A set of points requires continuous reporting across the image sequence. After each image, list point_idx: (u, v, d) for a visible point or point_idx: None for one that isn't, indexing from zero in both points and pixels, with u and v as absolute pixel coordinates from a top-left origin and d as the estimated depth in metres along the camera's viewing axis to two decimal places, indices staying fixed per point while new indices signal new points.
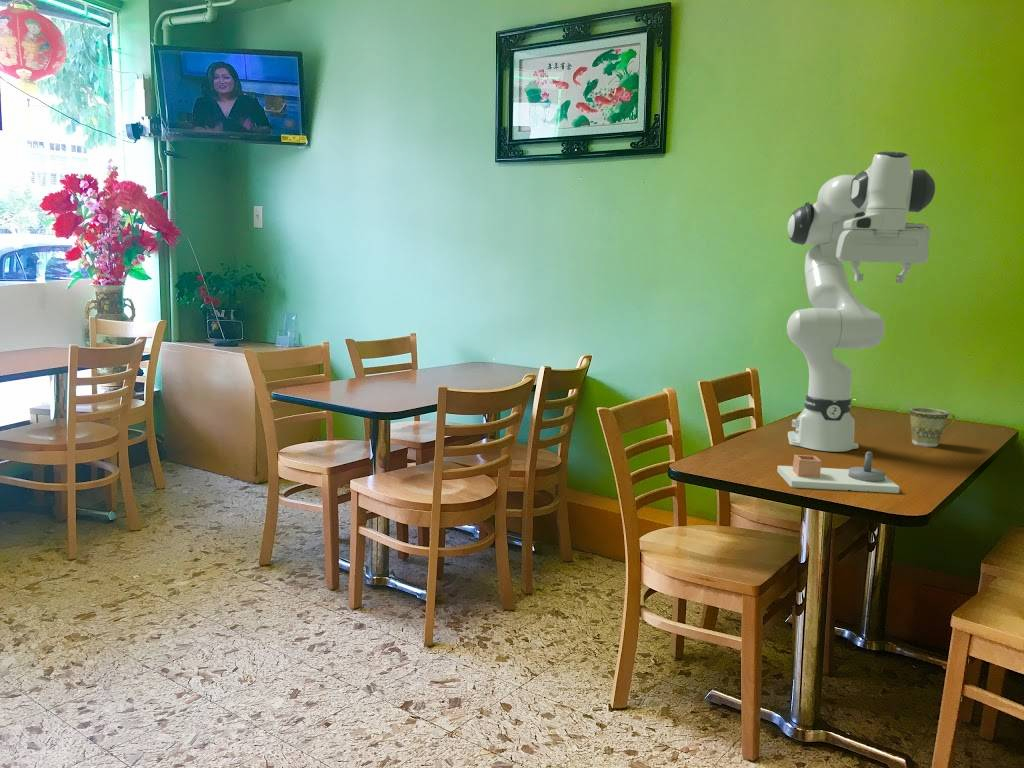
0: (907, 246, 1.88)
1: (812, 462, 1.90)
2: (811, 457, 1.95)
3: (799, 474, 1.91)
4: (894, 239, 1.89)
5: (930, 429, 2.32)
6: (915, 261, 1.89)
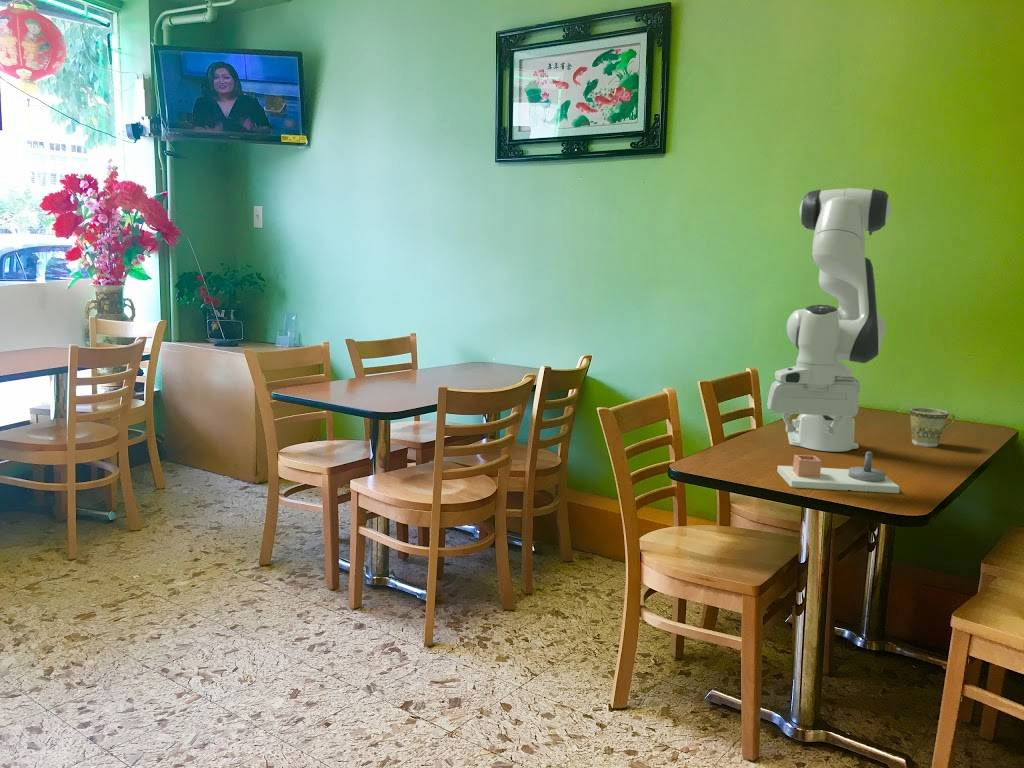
0: (837, 400, 1.88)
1: (812, 462, 1.90)
2: (811, 457, 1.95)
3: (799, 474, 1.91)
4: (823, 393, 1.89)
5: (930, 429, 2.32)
6: (845, 414, 1.89)
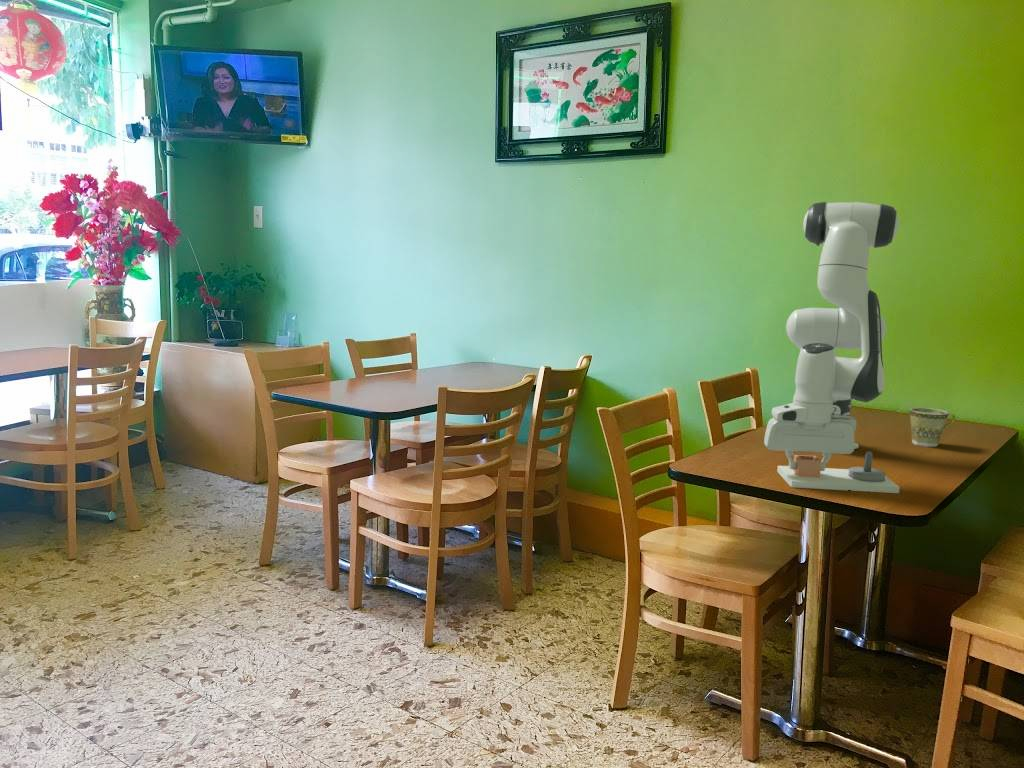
0: (833, 438, 1.90)
1: (812, 462, 1.90)
2: (811, 457, 1.95)
3: (799, 474, 1.91)
4: (820, 430, 1.90)
5: (930, 429, 2.32)
6: (841, 452, 1.90)
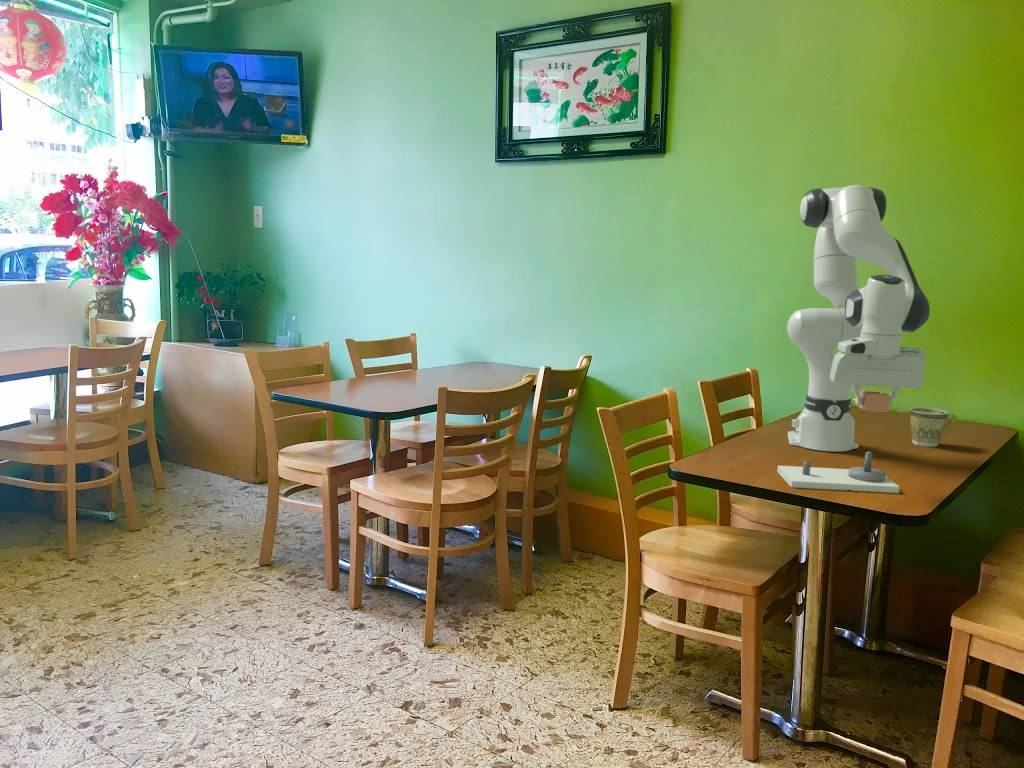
0: (902, 371, 1.86)
1: (880, 396, 1.87)
2: (878, 393, 1.91)
3: (867, 409, 1.87)
4: (888, 364, 1.86)
5: (930, 429, 2.32)
6: (910, 386, 1.87)
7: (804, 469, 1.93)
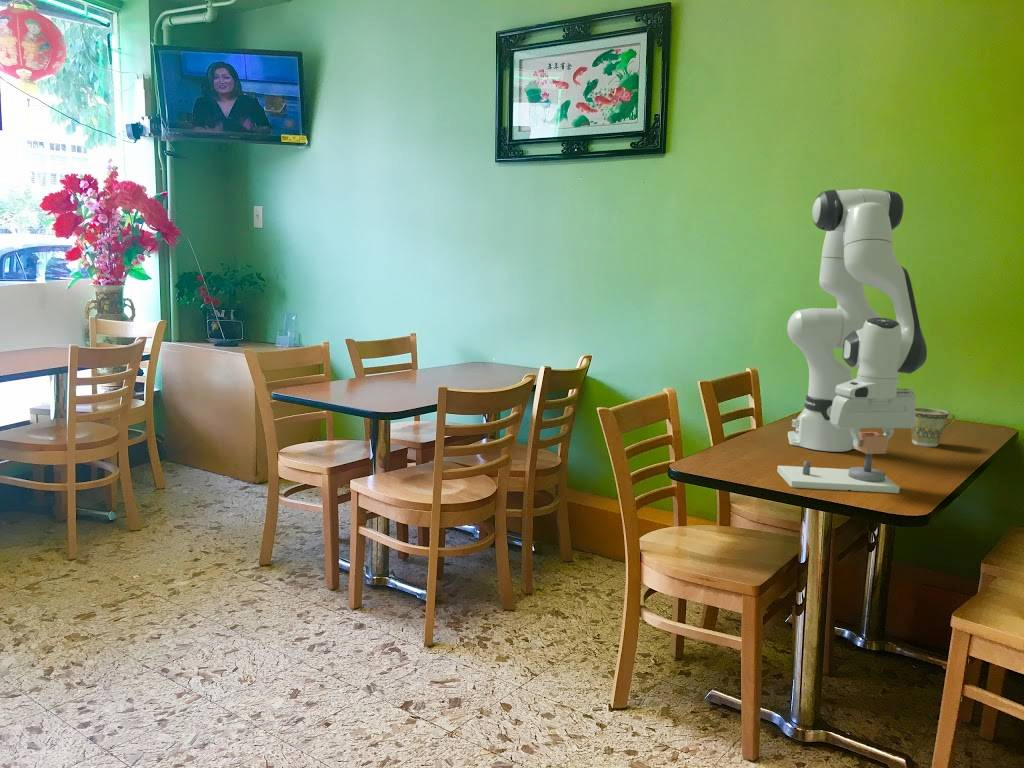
0: (897, 412, 1.89)
1: (880, 438, 1.88)
2: (872, 433, 1.93)
3: (868, 451, 1.88)
4: (885, 406, 1.88)
5: (930, 429, 2.32)
6: (904, 426, 1.90)
7: (804, 469, 1.93)
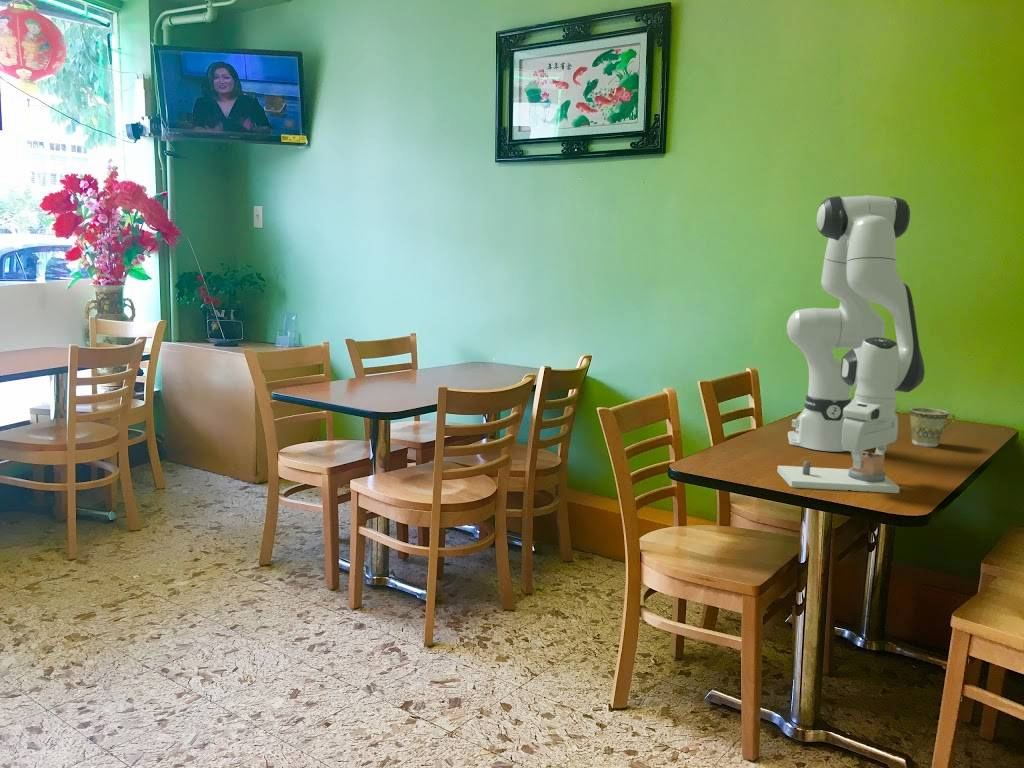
0: (889, 429, 1.92)
1: (880, 458, 1.90)
2: (864, 453, 1.94)
3: (873, 473, 1.89)
4: (882, 424, 1.90)
5: (930, 429, 2.32)
6: (891, 442, 1.94)
7: (804, 469, 1.93)
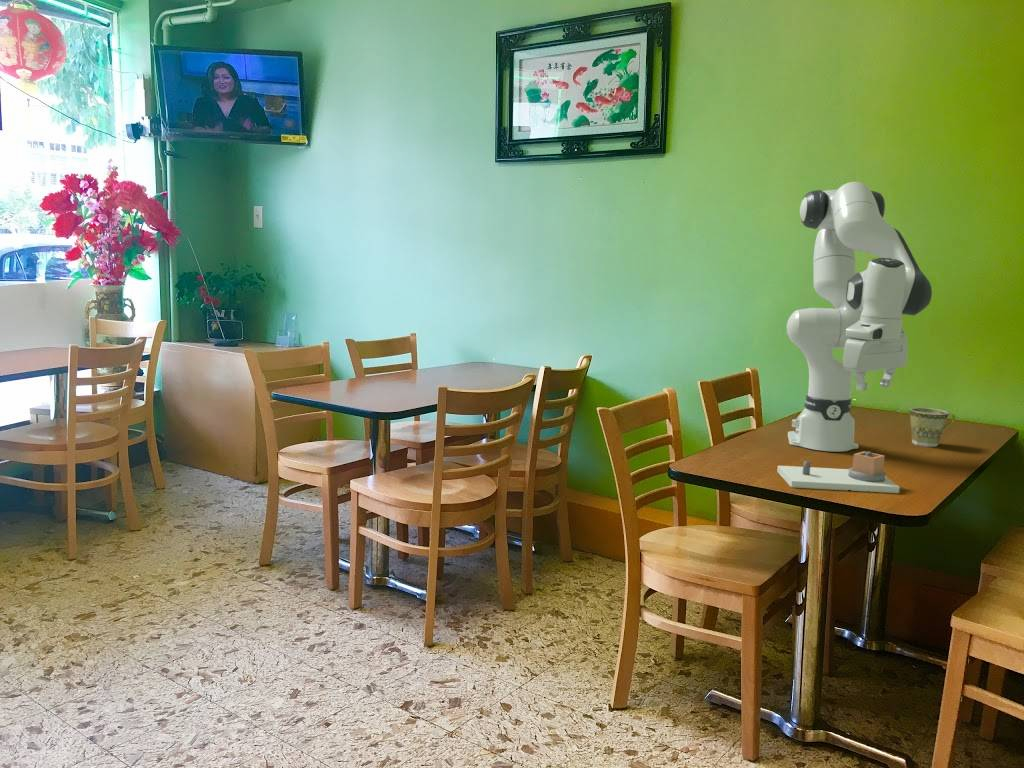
0: (896, 352, 1.90)
1: (880, 458, 1.90)
2: (864, 453, 1.94)
3: (873, 473, 1.89)
4: (888, 346, 1.88)
5: (930, 429, 2.32)
6: (900, 366, 1.92)
7: (804, 469, 1.93)
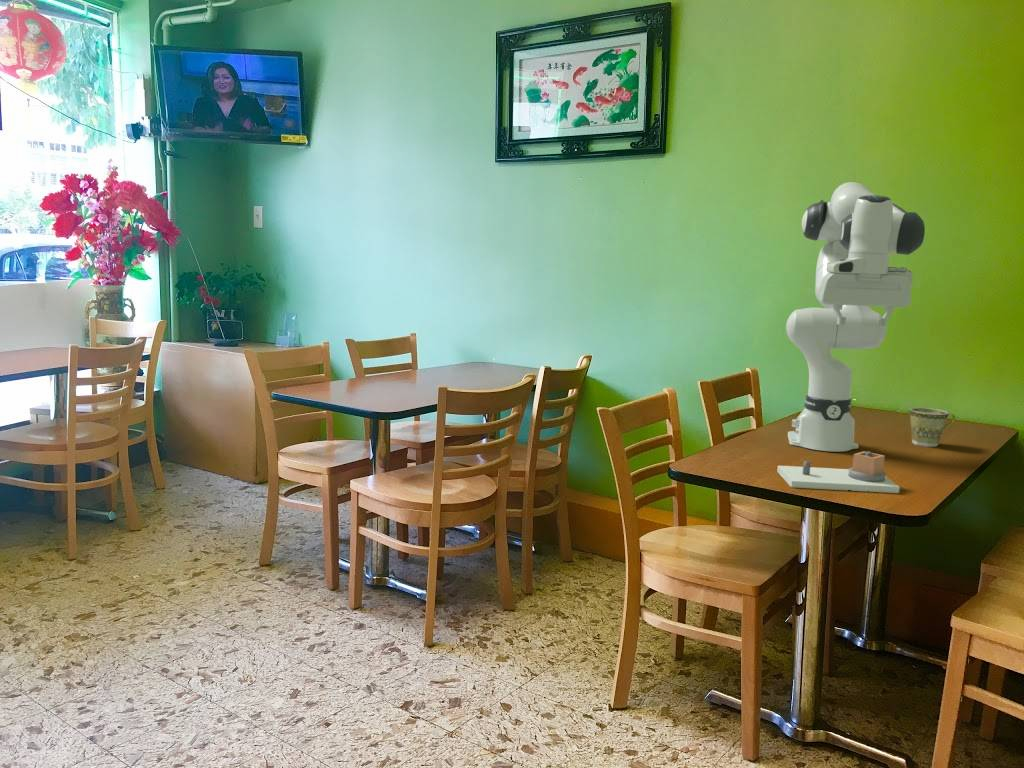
0: (890, 290, 1.88)
1: (880, 458, 1.90)
2: (864, 453, 1.94)
3: (873, 473, 1.89)
4: (876, 283, 1.89)
5: (930, 429, 2.32)
6: (897, 305, 1.89)
7: (804, 469, 1.93)
